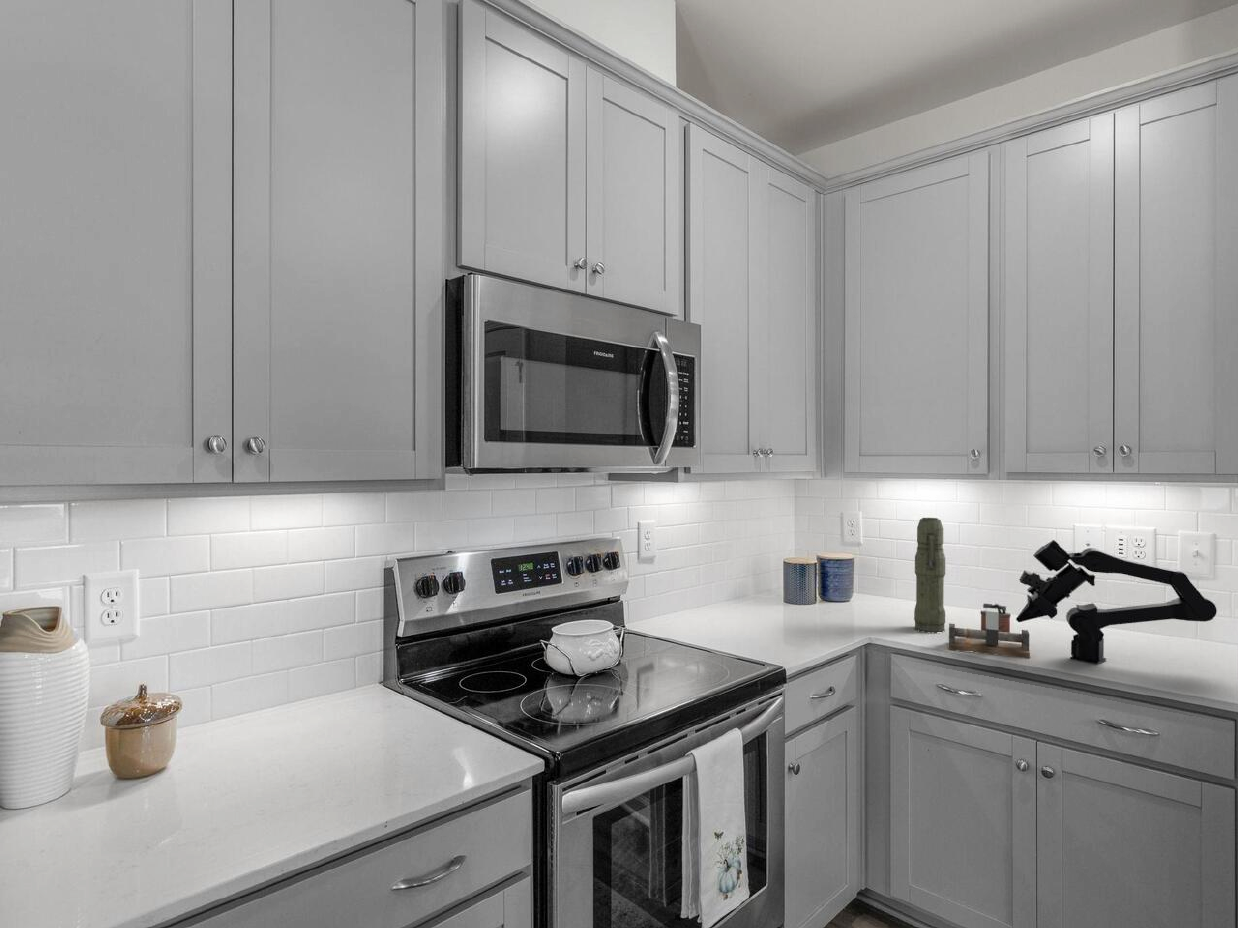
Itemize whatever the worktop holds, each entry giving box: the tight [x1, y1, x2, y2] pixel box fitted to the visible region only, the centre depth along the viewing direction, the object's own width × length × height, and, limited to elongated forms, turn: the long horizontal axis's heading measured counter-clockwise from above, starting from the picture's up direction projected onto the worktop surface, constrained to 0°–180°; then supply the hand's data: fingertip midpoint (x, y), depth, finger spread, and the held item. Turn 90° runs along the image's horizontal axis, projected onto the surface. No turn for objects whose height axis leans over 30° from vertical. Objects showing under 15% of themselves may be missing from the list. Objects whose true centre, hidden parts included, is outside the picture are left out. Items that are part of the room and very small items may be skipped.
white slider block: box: [985, 608, 999, 646], centre depth 206 cm, size 3×5×9 cm, turn 155°
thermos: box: [913, 517, 946, 634], centre depth 230 cm, size 9×12×35 cm
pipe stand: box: [948, 622, 1031, 659], centre depth 206 cm, size 20×9×6 cm, turn 65°
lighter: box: [980, 603, 1011, 633], centre depth 220 cm, size 8×3×10 cm, turn 59°
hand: (1017, 620), depth 203 cm, fingers closed
